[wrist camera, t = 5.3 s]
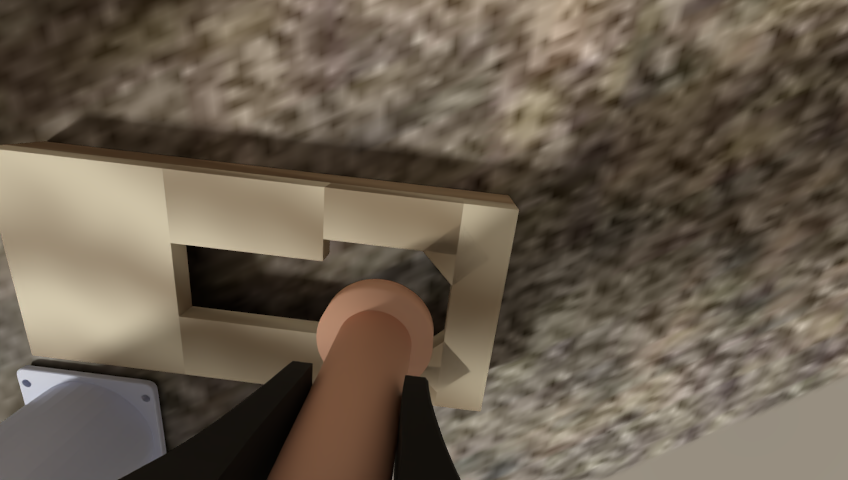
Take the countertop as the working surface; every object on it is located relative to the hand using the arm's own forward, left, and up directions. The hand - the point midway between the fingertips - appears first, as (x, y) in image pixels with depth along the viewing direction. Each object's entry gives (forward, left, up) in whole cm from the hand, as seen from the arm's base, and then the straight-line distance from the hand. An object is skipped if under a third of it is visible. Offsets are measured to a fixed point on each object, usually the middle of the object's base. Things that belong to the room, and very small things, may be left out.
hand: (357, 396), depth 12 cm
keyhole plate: (0, +6, -8) cm, 10 cm away
